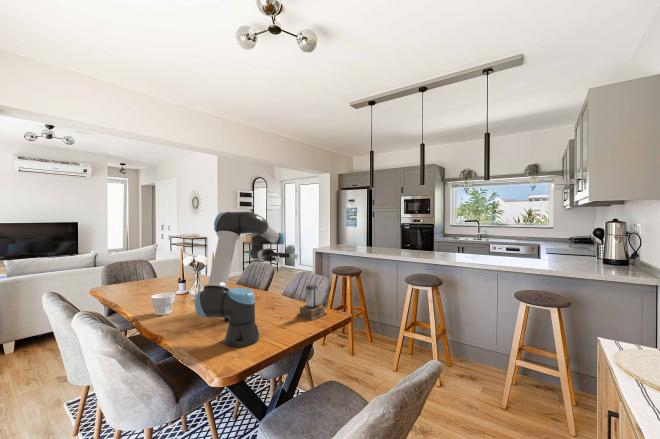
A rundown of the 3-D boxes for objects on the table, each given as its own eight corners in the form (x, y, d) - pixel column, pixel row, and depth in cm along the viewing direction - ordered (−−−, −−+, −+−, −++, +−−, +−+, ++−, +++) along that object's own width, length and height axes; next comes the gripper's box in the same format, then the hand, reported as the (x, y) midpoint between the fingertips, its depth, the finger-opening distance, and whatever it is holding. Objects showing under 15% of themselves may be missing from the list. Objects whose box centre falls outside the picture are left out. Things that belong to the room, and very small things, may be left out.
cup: (180, 311, 177) (179, 293, 177) (160, 318, 166) (160, 299, 165) (166, 309, 182) (166, 291, 182) (146, 315, 171) (146, 296, 171)
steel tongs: (311, 315, 164) (311, 286, 164) (305, 313, 168) (304, 285, 168) (317, 313, 168) (316, 285, 167) (310, 311, 171) (310, 283, 171)
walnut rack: (312, 320, 159) (312, 311, 159) (297, 315, 167) (297, 307, 167) (326, 314, 168) (326, 305, 168) (311, 310, 176) (311, 302, 176)
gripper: (281, 258, 197) (303, 261, 183) (249, 263, 178) (271, 267, 164) (281, 247, 197) (303, 249, 183) (249, 251, 178) (271, 254, 164)
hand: (288, 258), depth 173 cm, fingers open, 13 cm apart
